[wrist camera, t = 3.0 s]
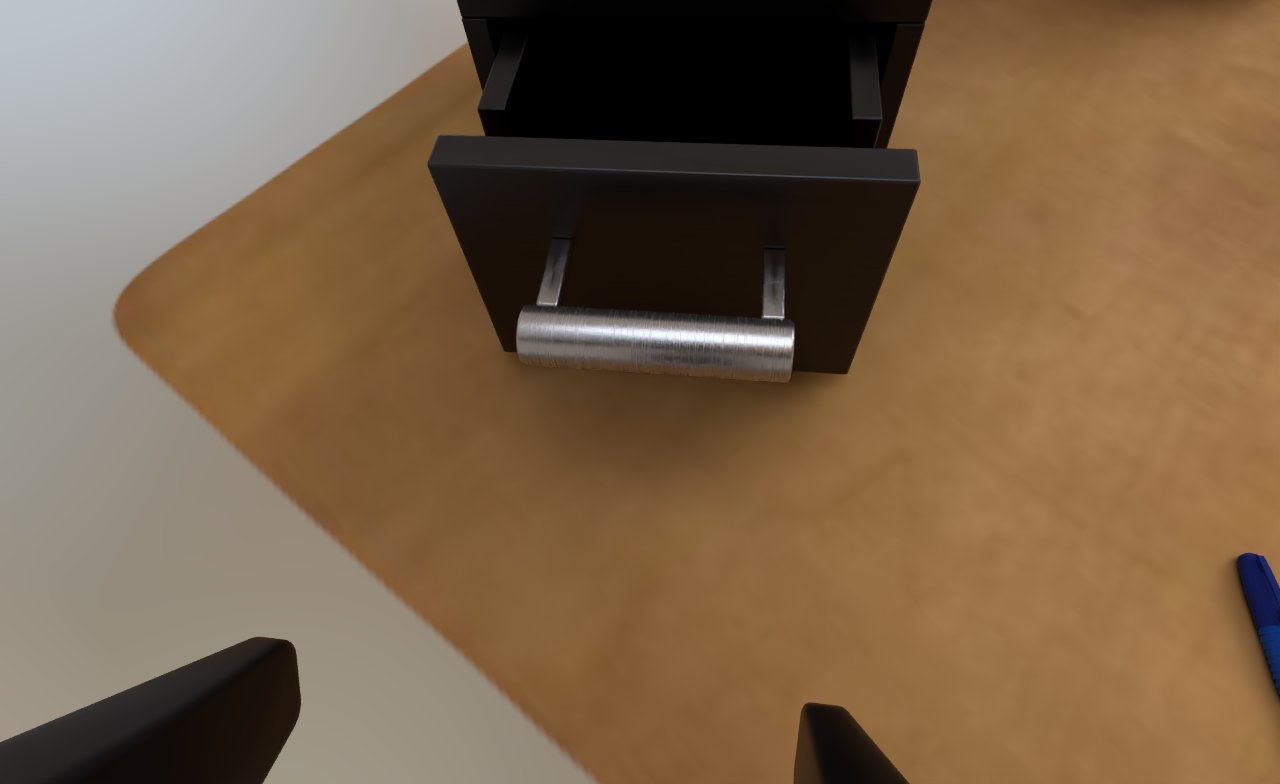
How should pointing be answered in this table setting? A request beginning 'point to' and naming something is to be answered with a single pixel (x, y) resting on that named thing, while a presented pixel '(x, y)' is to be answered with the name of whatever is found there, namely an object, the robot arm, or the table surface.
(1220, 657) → the table surface
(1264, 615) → the ballpoint pen
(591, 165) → the drawer
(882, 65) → the black cabinet
